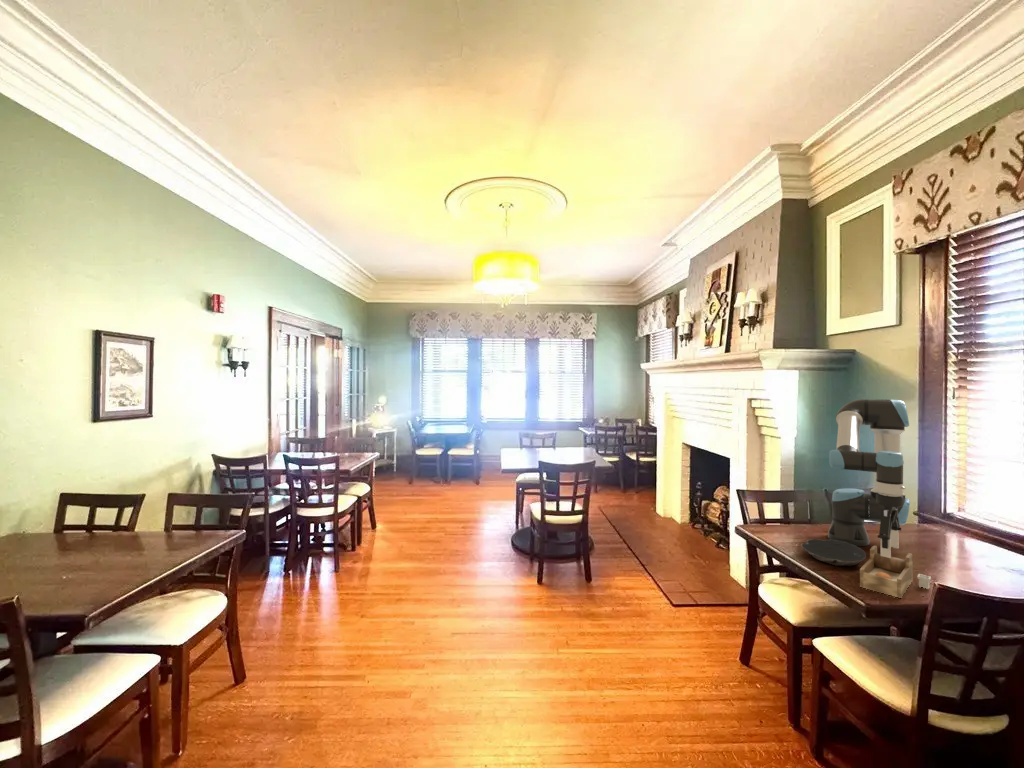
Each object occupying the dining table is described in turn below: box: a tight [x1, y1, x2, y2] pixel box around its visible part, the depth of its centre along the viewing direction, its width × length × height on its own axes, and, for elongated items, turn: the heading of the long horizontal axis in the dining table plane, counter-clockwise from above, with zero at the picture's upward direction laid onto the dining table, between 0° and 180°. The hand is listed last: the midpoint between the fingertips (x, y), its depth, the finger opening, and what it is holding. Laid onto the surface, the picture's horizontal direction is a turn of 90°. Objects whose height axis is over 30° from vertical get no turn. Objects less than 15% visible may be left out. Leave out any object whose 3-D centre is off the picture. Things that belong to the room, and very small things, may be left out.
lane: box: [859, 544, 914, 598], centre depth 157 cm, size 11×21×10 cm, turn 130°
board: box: [801, 538, 867, 567], centre depth 179 cm, size 22×22×5 cm
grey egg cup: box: [916, 573, 932, 590], centre depth 155 cm, size 3×3×4 cm
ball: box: [875, 572, 892, 579], centre depth 154 cm, size 5×5×5 cm
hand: (889, 552), depth 160 cm, fingers open, 13 cm apart
